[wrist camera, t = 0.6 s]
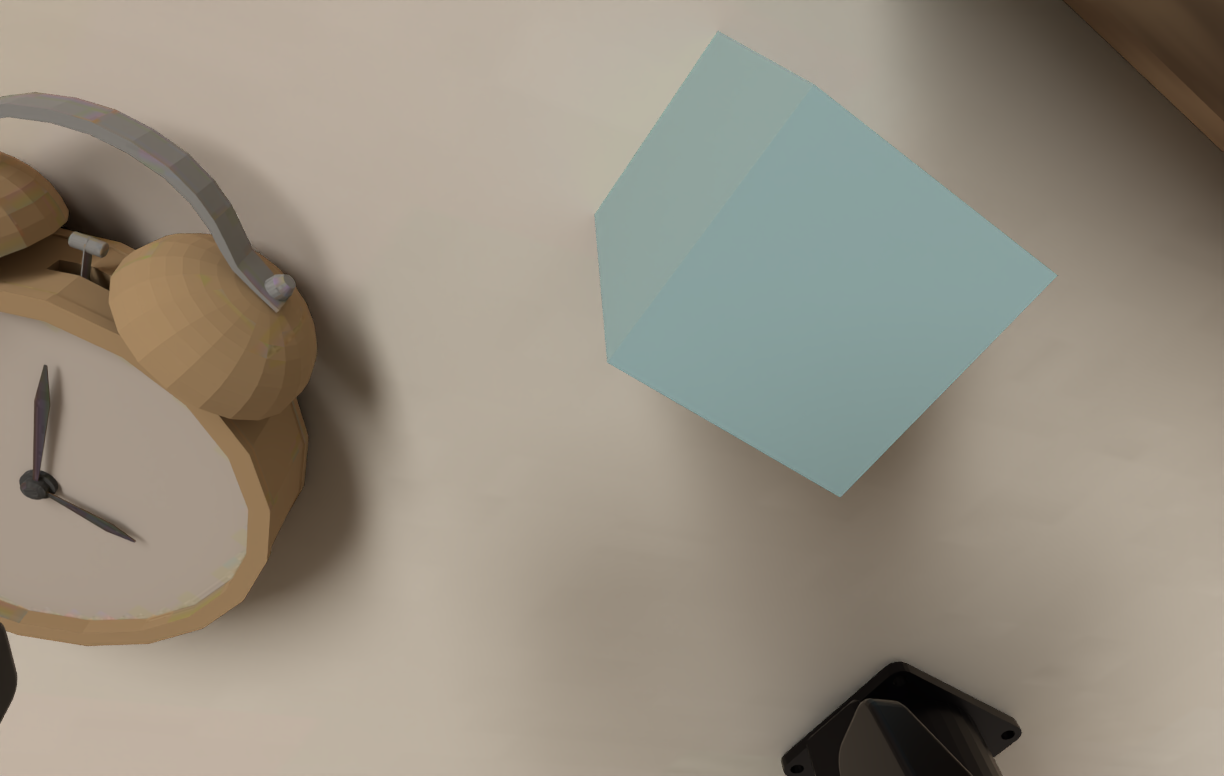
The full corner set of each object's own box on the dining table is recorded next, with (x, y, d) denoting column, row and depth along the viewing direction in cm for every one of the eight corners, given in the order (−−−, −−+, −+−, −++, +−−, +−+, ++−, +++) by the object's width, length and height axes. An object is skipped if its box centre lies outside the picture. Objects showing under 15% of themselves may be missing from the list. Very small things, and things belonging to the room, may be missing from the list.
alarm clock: (-217, 582, 21) (-398, 22, 12) (-81, 452, 24) (-143, -41, 16) (225, 692, 23) (338, 299, 15) (285, 559, 27) (402, 187, 18)
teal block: (880, 156, 19) (1056, 275, 12) (751, 315, 21) (840, 497, 14) (717, 31, 18) (814, 84, 11) (594, 214, 20) (606, 362, 13)
